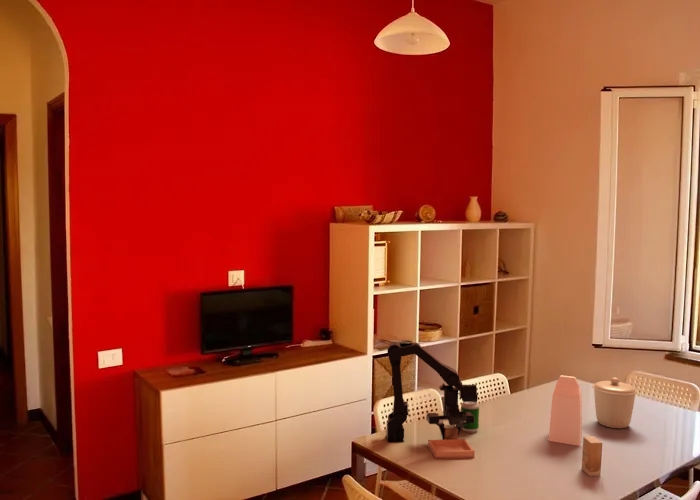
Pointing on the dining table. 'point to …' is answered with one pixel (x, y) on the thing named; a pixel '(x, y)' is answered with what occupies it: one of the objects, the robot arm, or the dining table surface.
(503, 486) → the dining table surface
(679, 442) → the dining table surface
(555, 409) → the milk
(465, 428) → the soda can
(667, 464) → the dining table surface
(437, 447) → the terracotta tray
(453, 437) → the walnut block
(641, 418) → the dining table surface
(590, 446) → the skincare box
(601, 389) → the canister
